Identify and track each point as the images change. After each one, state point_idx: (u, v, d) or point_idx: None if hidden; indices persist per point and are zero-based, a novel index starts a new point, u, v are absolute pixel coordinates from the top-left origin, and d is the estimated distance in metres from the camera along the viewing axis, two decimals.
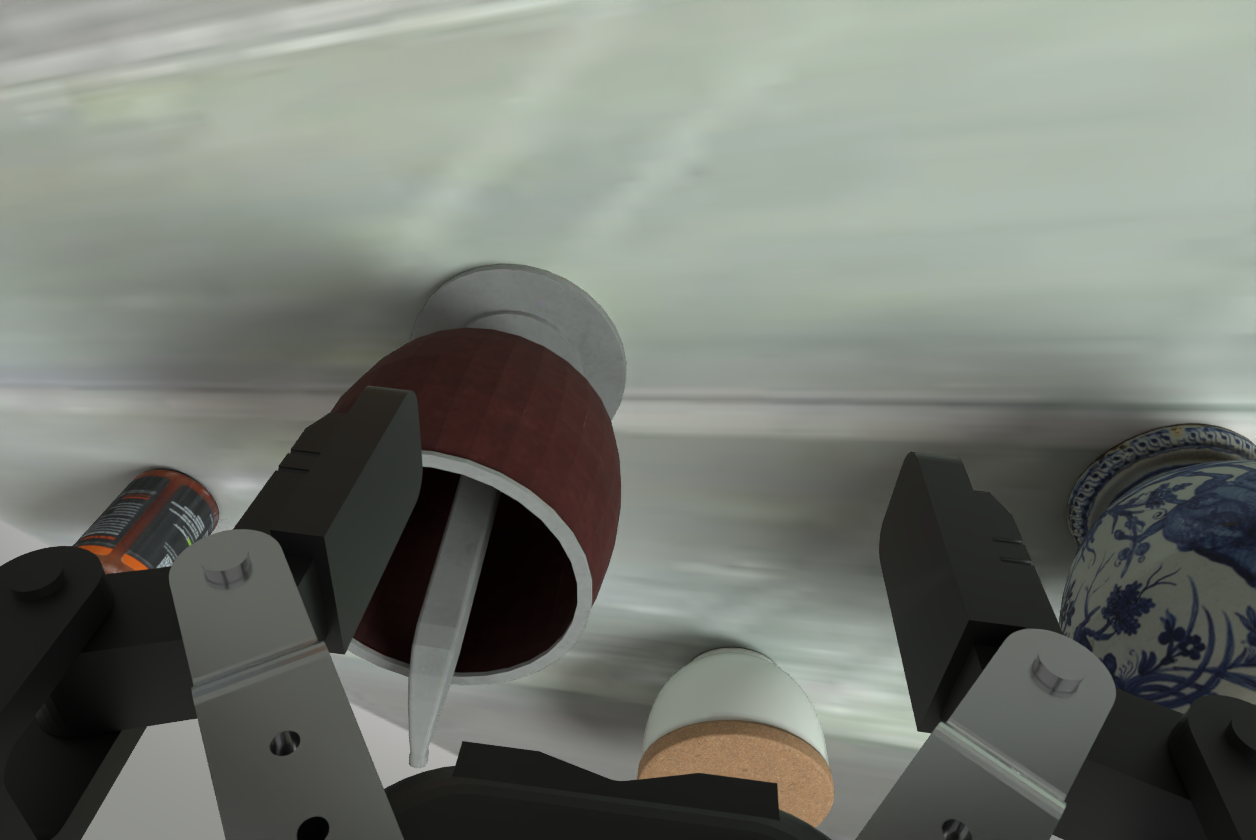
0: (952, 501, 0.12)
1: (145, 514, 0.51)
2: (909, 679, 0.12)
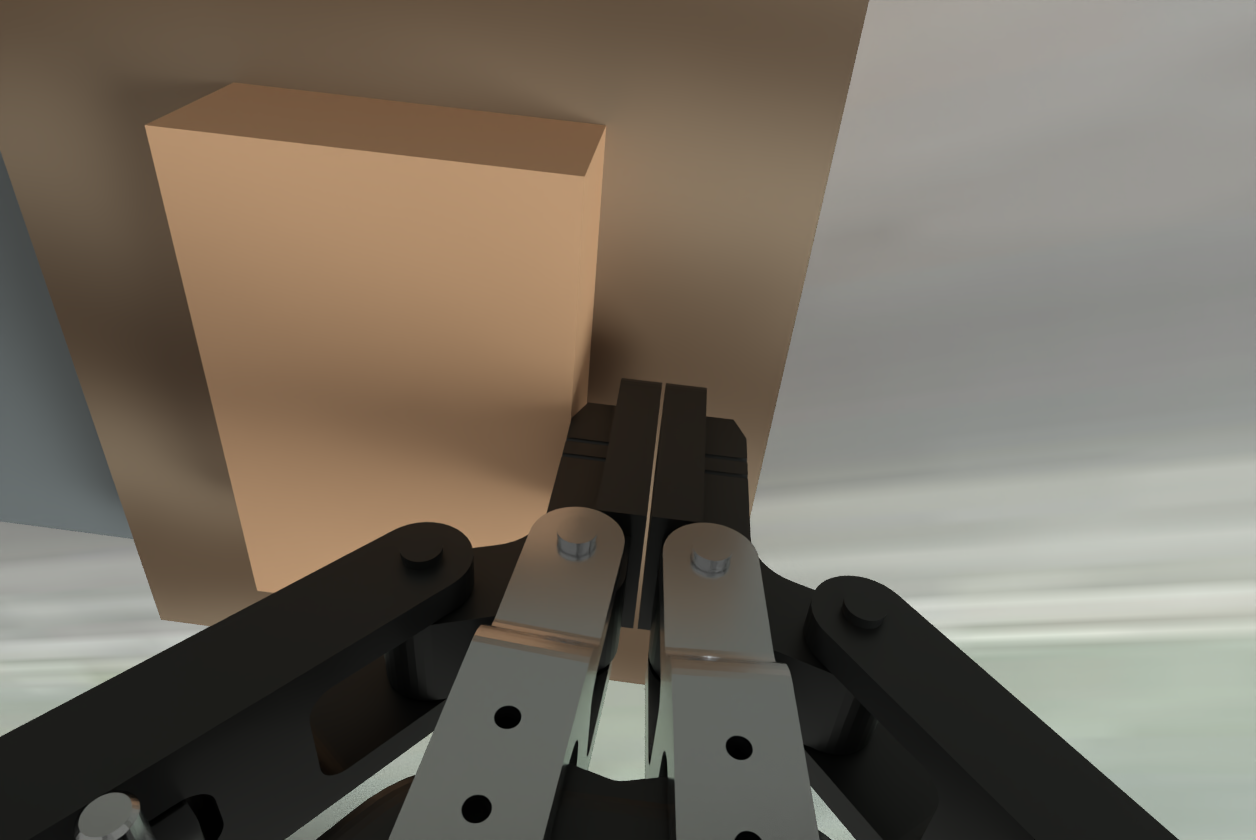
0: (681, 421, 0.13)
1: None
2: (642, 585, 0.13)
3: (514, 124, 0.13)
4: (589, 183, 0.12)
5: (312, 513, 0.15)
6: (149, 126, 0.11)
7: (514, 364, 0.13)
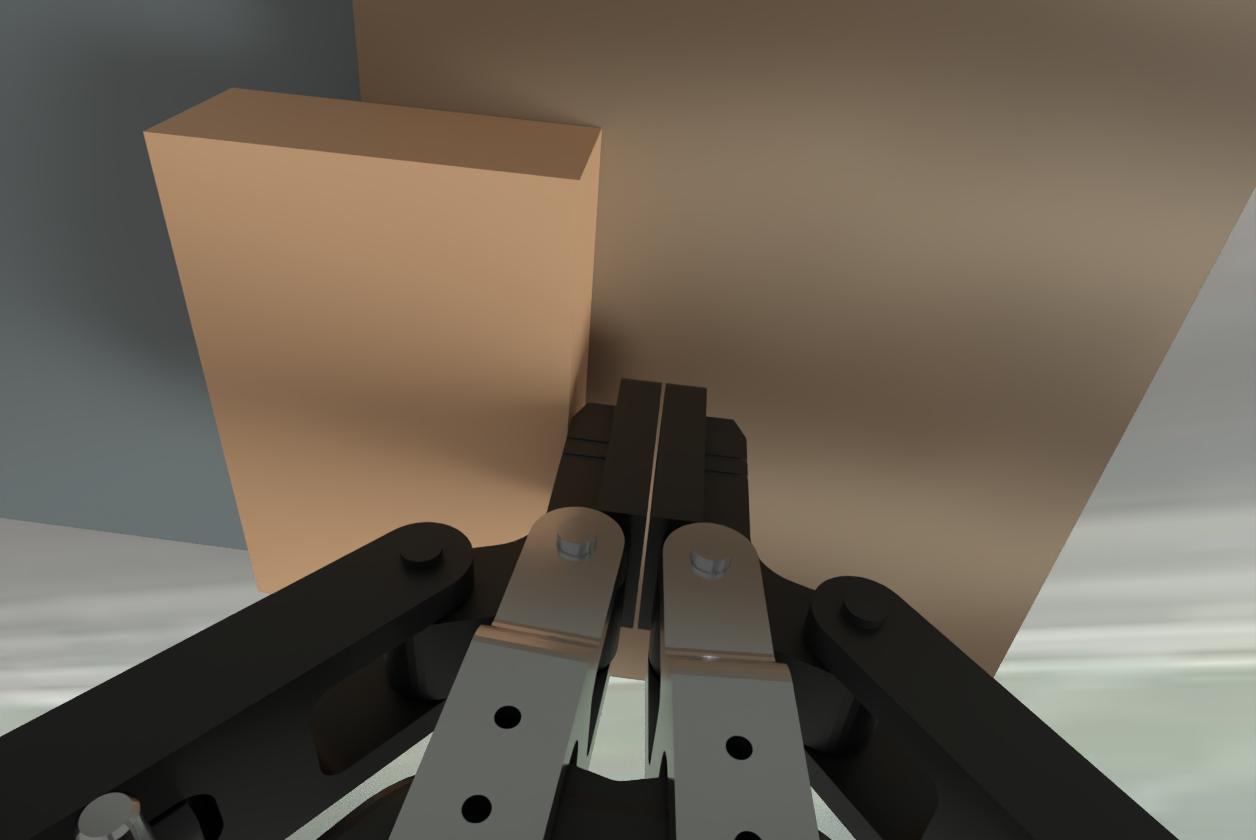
0: (681, 421, 0.13)
1: None
2: (642, 585, 0.13)
3: (510, 128, 0.13)
4: (584, 186, 0.12)
5: (313, 515, 0.15)
6: (148, 133, 0.11)
7: (512, 367, 0.13)
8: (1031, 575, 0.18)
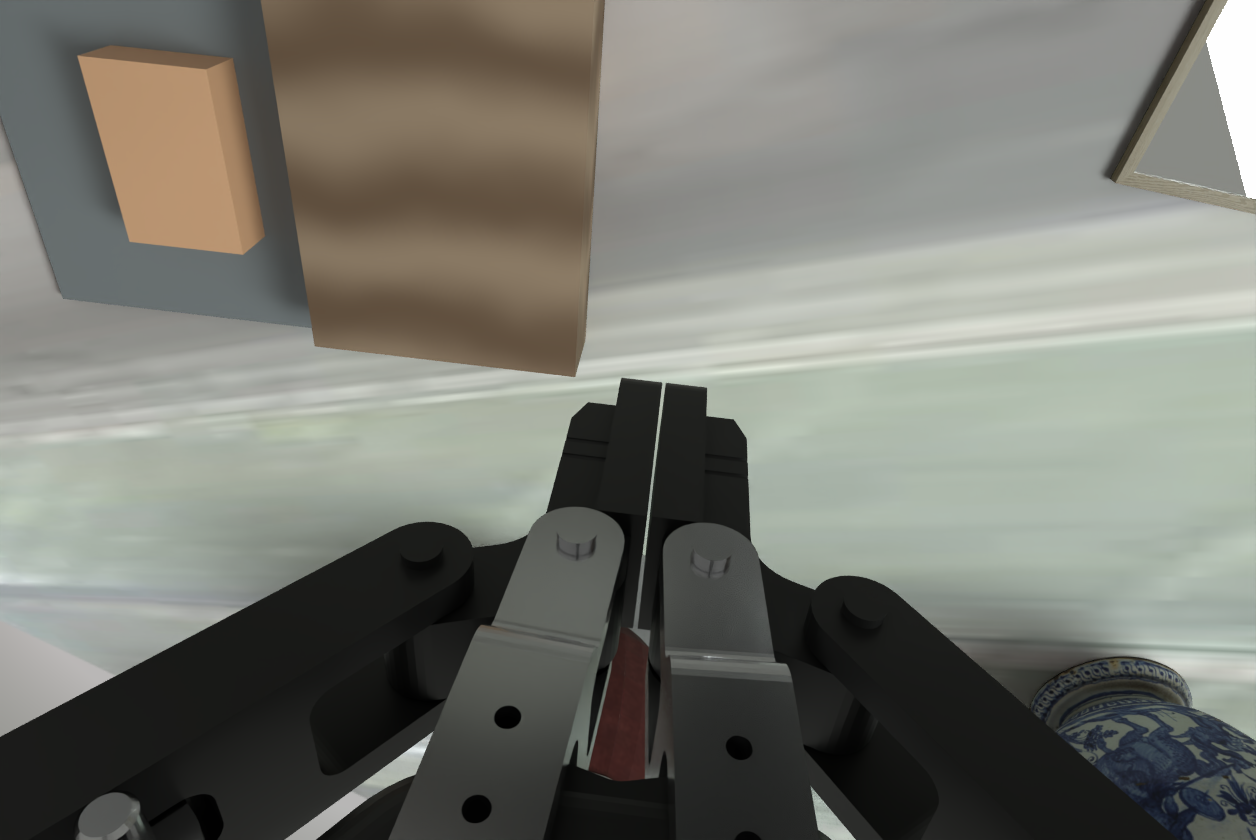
0: (681, 421, 0.13)
1: None
2: (642, 585, 0.13)
3: (113, 56, 0.38)
4: None
5: None
6: (232, 59, 0.40)
7: None
8: (572, 287, 0.41)
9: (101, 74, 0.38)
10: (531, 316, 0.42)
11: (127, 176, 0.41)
